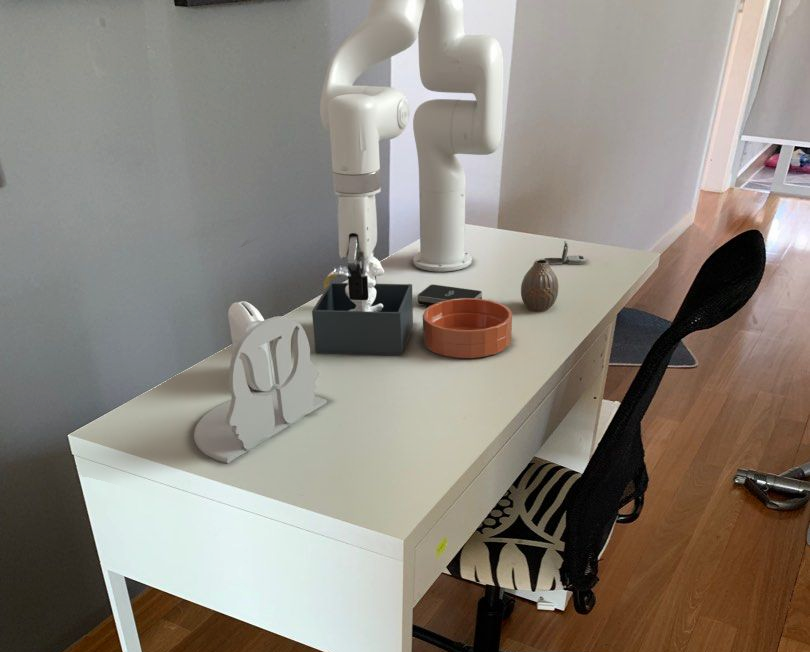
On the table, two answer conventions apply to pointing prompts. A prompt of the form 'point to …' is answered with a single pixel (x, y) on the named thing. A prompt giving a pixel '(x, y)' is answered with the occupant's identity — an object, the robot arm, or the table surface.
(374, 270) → the koala figurine
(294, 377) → the ornament
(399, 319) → the bin
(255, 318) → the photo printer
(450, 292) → the external hard drive
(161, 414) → the table surface
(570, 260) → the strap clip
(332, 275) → the ring
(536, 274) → the vase
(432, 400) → the table surface
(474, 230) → the table surface
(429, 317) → the bowl
